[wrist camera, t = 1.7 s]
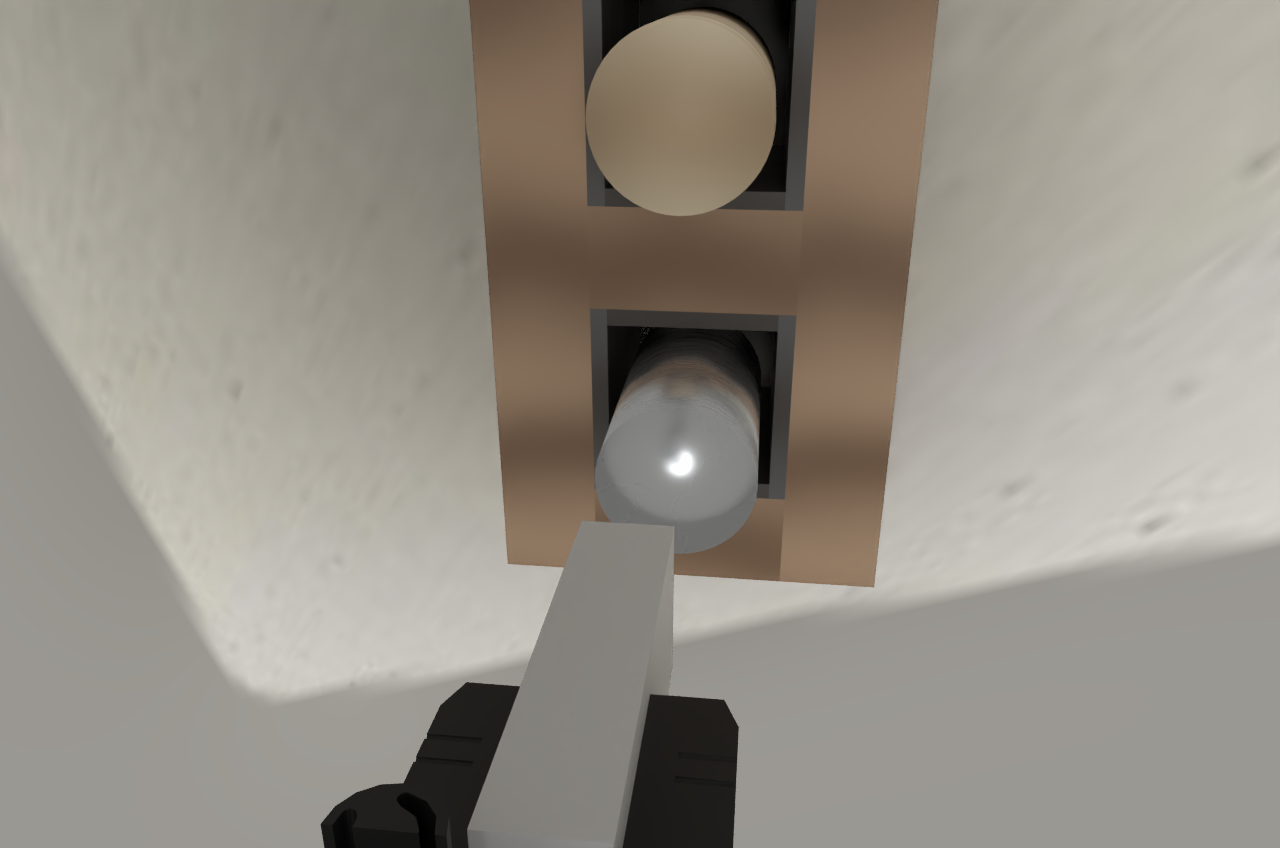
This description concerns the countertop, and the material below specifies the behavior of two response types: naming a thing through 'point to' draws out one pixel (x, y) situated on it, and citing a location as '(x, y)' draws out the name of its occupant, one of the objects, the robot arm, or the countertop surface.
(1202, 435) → the countertop surface
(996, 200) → the countertop surface
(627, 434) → the steel peg
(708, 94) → the beech peg
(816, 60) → the socket block
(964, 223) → the countertop surface
